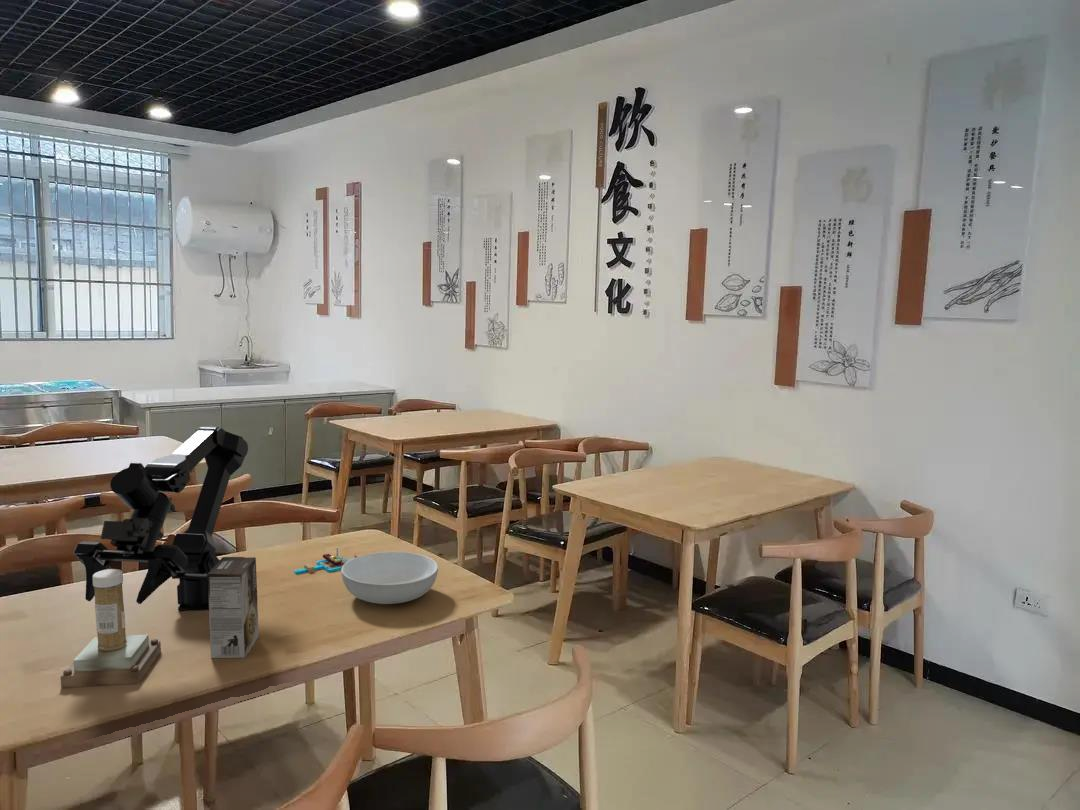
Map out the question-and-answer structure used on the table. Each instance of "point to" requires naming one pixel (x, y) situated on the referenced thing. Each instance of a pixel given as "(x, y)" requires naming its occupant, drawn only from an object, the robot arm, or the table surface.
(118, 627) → the sprinkles bottle
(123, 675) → the brick tower base
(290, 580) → the table surface
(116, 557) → the robot arm
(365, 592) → the serving bowl
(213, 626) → the coffee box
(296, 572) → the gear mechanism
